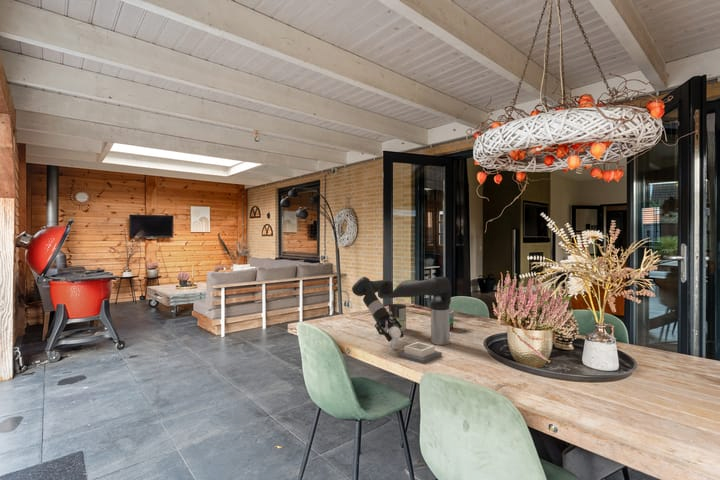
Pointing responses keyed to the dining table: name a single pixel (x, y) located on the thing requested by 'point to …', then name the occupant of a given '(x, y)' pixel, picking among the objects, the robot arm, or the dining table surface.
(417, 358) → the socket stand
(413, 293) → the robot arm
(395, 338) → the lightbulb
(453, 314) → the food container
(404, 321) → the coffee can
